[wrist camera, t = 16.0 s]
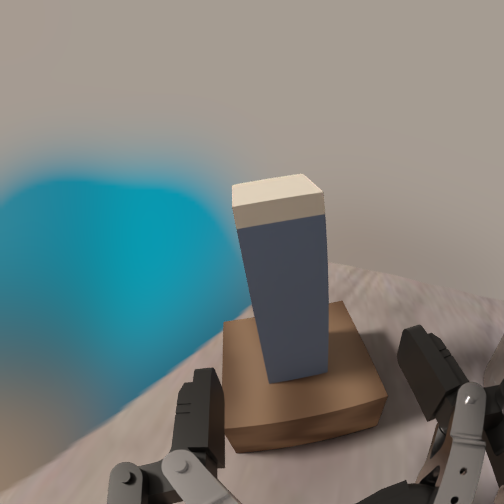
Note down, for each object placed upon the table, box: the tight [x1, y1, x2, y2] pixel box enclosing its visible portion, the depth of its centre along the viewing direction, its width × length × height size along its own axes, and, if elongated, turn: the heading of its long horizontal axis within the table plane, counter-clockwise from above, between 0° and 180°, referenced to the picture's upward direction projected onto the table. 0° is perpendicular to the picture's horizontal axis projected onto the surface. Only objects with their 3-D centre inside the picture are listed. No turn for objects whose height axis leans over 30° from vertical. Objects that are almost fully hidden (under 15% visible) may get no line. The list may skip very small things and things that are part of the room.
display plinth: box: [222, 301, 388, 453], centre depth 24 cm, size 12×12×5 cm
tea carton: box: [232, 174, 329, 384], centre depth 19 cm, size 5×5×14 cm
